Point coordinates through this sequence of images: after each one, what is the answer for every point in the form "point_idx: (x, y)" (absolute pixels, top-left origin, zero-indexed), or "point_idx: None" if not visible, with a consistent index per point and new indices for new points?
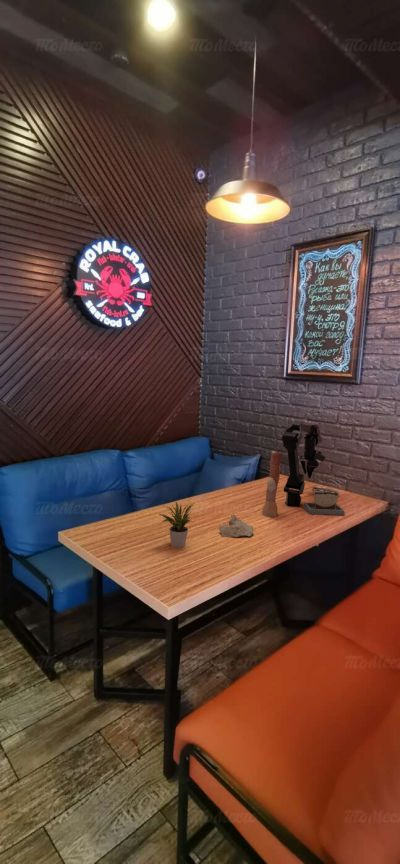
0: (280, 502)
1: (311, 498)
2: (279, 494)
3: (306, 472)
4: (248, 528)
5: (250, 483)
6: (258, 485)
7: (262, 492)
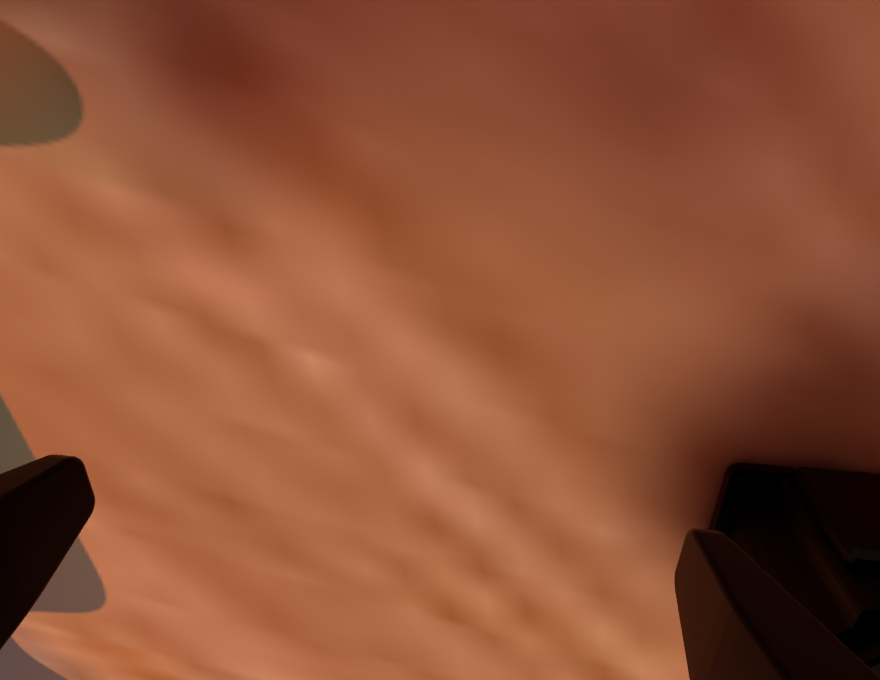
0: None
1: (488, 176)
2: (360, 535)
3: (38, 479)
4: None
5: (38, 655)
6: (76, 616)
7: (323, 654)
